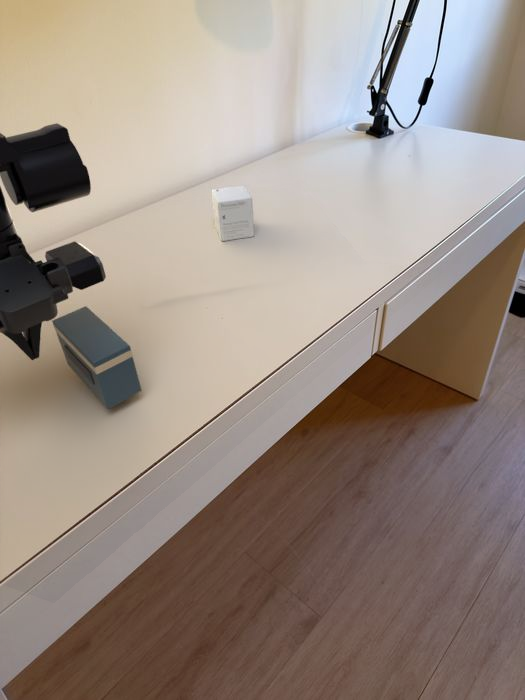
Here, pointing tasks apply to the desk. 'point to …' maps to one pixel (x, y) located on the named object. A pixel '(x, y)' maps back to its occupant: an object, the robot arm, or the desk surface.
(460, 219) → the desk surface
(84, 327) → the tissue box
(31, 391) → the desk surface
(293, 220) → the desk surface
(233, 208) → the product box
